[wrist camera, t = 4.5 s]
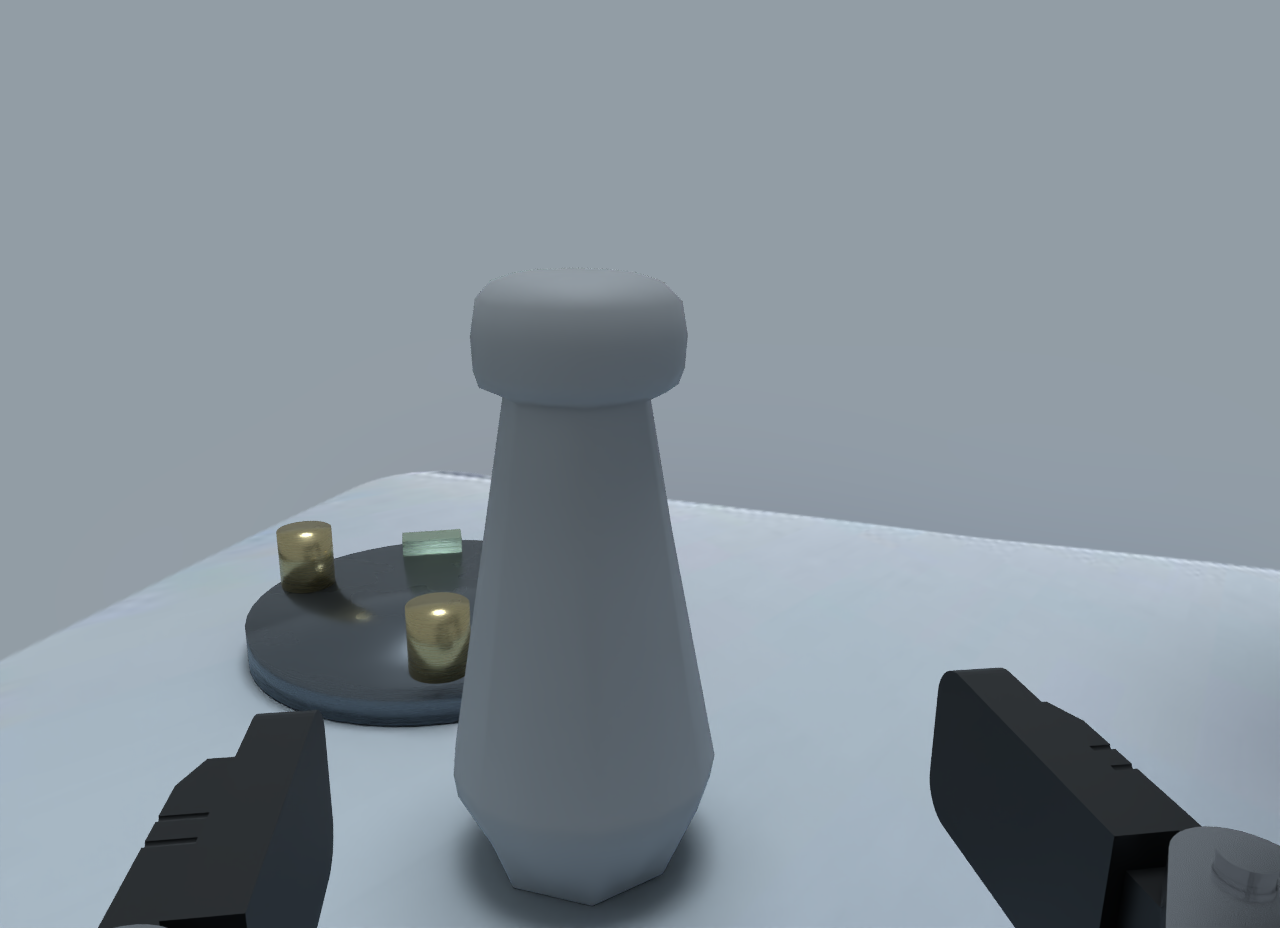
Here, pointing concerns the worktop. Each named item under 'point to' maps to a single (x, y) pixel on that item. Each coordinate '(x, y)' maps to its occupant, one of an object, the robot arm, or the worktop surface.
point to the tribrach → (367, 627)
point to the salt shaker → (580, 592)
